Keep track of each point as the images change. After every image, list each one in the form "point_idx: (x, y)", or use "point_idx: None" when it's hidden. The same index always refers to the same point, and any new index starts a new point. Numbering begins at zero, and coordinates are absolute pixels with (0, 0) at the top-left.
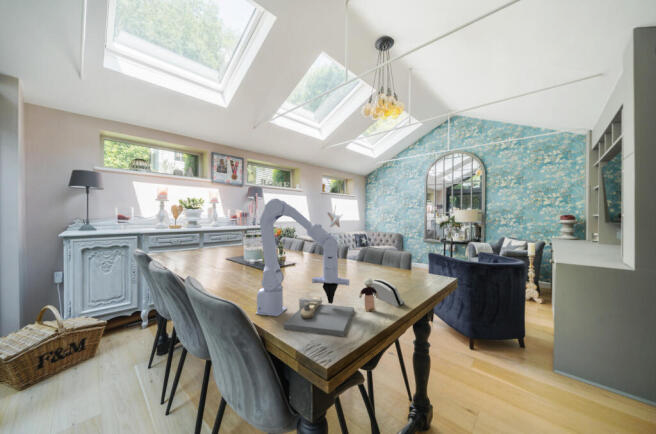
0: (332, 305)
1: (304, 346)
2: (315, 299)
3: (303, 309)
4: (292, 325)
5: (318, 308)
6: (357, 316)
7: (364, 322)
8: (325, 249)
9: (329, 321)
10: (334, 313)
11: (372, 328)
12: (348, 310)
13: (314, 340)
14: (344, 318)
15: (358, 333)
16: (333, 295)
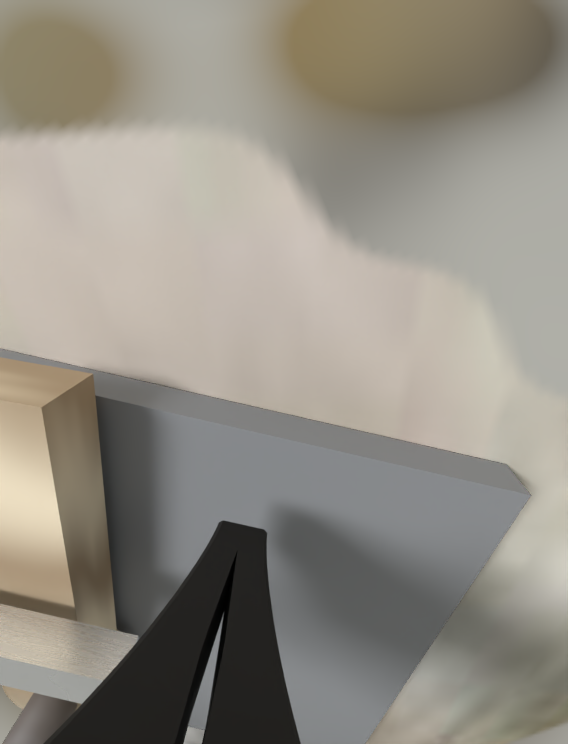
0: (263, 440)
1: None
2: (34, 677)
3: (22, 690)
4: None
5: (125, 506)
6: (502, 562)
7: (522, 640)
8: None
9: None
10: (295, 602)
11: (544, 697)
12: (439, 562)
13: None
14: (375, 672)
15: (435, 720)
16: (259, 628)
